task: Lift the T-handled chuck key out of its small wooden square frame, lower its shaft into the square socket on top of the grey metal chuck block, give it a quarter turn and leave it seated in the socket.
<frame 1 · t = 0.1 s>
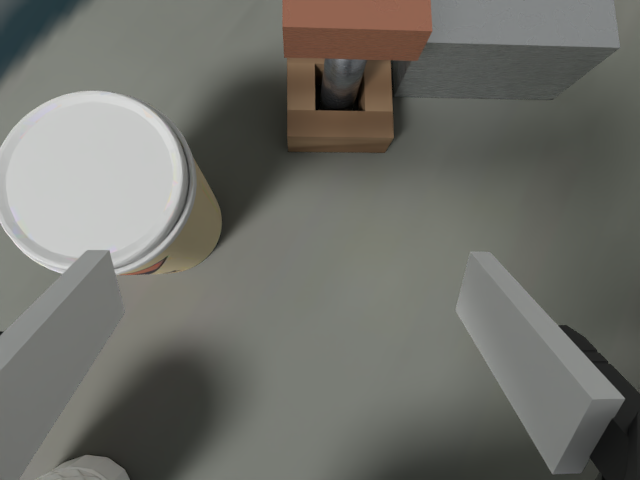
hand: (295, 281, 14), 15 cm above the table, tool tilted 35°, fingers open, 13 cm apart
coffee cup: (173, 224, 30), on the table
chuck block: (468, 24, 33), on the table
wooden square frame: (336, 106, 32), on the table
chuck key: (344, 65, 26), in the wooden square frame
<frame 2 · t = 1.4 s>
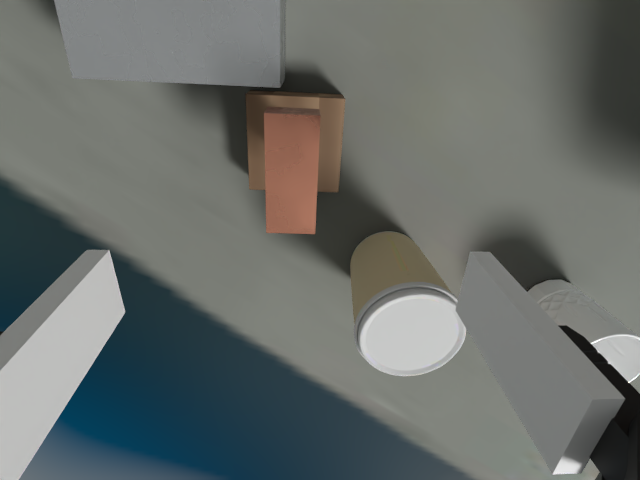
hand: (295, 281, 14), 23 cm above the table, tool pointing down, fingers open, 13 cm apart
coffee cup: (384, 261, 41), on the table
white cup: (545, 301, 45), on the table
wooden square frame: (295, 138, 35), on the table
chuck key: (294, 154, 30), in the wooden square frame
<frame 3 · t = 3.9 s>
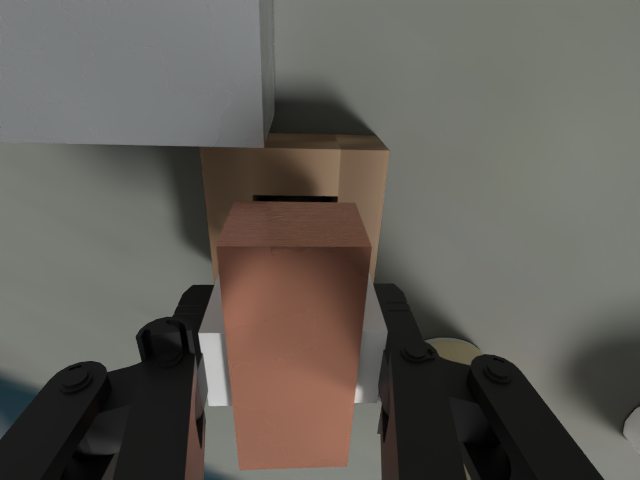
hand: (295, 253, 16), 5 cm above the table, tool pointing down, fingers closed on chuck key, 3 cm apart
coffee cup: (433, 375, 27), on the table
wooden square frame: (295, 208, 20), on the table
chuck key: (295, 264, 15), in the wooden square frame, touching gripper
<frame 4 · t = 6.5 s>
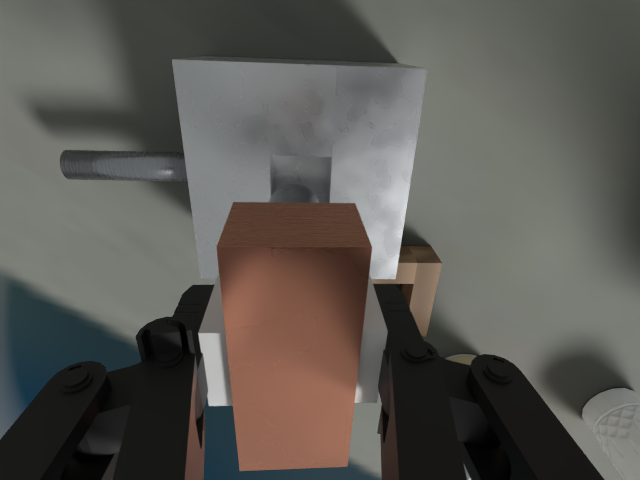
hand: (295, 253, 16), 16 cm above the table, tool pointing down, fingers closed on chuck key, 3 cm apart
white cup: (607, 404, 46), on the table
chuck block: (300, 156, 30), on the table
wooden square frame: (382, 282, 36), on the table
chuck key: (294, 265, 15), point 17 cm above the table, touching gripper
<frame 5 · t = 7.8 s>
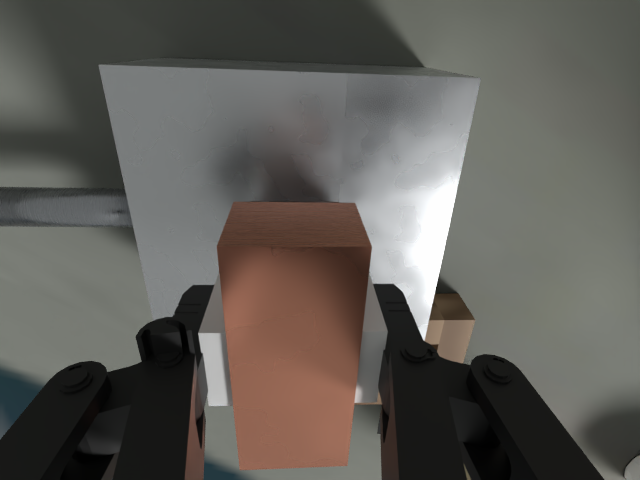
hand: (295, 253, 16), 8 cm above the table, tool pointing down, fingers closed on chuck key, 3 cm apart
chuck block: (295, 187, 23), on the table
wooden square frame: (397, 335, 29), on the table
chuck key: (294, 264, 15), point 9 cm above the table, touching gripper
when the fingers open (8 cm above the table, at t = 9.1 s): chuck key stays where it is, resting on chuck block.
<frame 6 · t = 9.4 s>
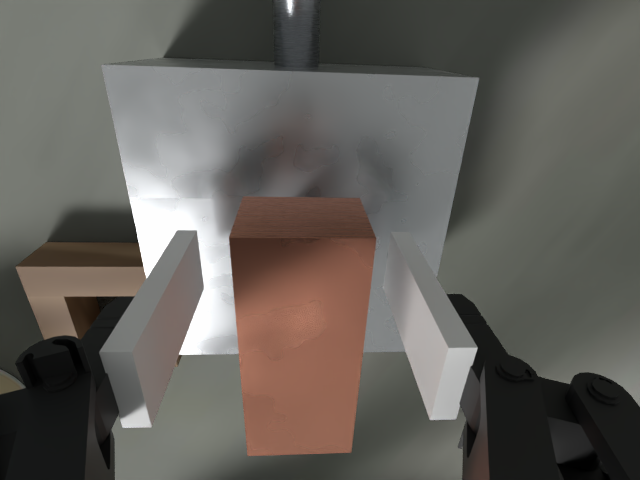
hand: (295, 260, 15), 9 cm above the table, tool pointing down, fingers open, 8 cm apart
chuck block: (295, 186, 23), on the table
wooden square frame: (123, 293, 26), on the table
chuck key: (299, 259, 16), in the chuck block, point 9 cm above the table
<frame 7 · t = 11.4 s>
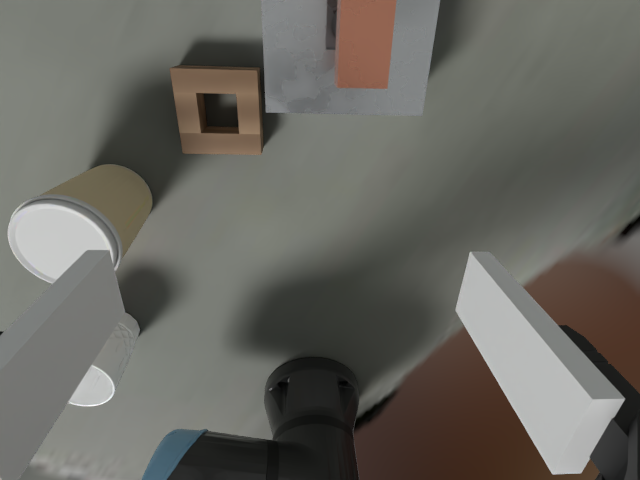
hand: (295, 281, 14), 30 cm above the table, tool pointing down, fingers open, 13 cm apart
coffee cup: (119, 194, 44), on the table
white cup: (116, 325, 53), on the table
chuck block: (341, 24, 36), on the table
wooden square frame: (223, 108, 40), on the table
chuck key: (355, 22, 29), in the chuck block, point 9 cm above the table
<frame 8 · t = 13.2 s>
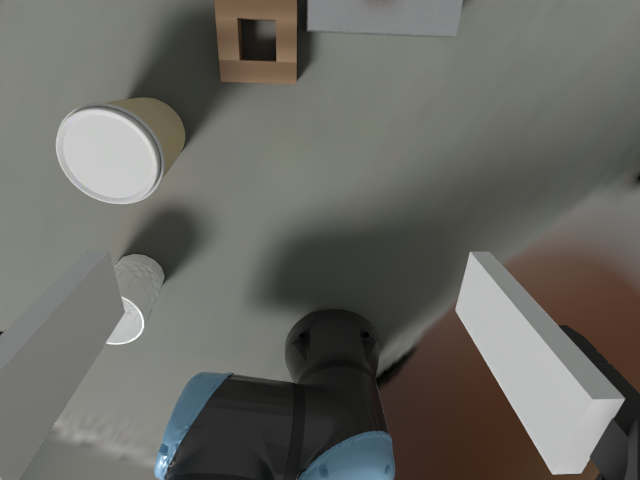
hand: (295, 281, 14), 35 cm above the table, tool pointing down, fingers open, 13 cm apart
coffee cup: (153, 131, 45), on the table
white cup: (140, 273, 54), on the table
wooden square frame: (259, 40, 41), on the table
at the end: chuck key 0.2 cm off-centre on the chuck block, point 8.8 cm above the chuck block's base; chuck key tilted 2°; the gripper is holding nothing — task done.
